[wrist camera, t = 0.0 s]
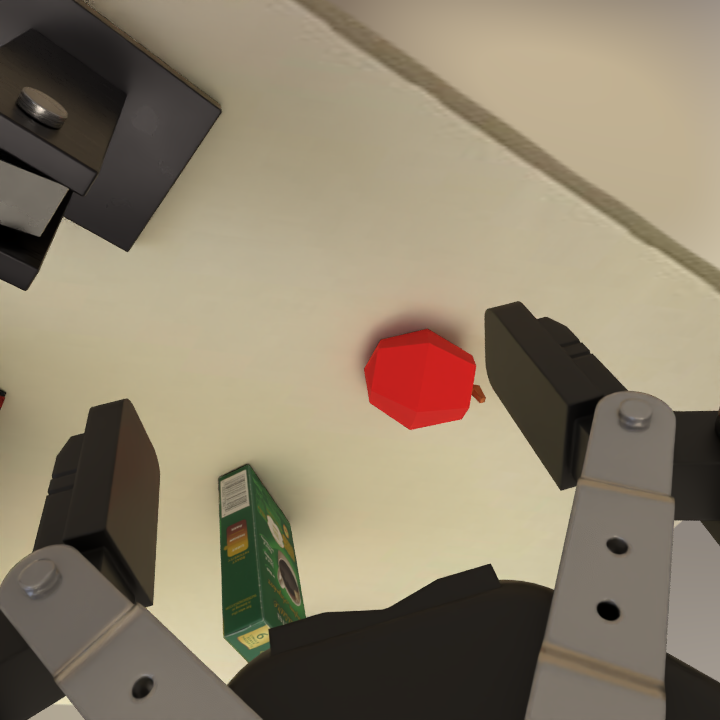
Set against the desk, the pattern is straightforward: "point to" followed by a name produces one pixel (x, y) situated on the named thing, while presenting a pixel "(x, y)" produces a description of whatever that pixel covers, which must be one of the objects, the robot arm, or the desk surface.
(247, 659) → the coffee box
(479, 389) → the apple
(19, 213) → the lever
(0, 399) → the book
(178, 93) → the bracket
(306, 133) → the desk surface
